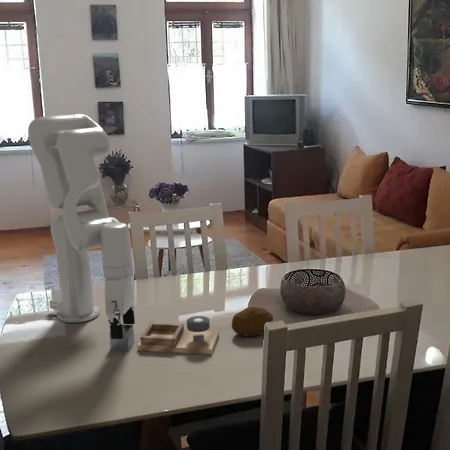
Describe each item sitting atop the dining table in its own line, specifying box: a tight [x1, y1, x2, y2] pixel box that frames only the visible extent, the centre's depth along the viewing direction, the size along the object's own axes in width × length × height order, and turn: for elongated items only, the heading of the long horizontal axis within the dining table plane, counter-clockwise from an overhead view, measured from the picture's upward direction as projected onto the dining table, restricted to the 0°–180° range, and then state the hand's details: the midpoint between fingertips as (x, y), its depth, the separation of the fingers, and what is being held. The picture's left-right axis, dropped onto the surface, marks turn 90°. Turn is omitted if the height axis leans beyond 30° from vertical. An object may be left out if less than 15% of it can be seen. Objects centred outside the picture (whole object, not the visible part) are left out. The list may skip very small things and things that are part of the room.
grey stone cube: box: [108, 324, 135, 351], centre depth 166 cm, size 5×5×5 cm
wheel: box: [186, 315, 211, 332], centre depth 164 cm, size 6×6×2 cm
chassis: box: [136, 322, 220, 355], centre depth 166 cm, size 20×11×4 cm, turn 81°
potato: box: [231, 306, 274, 337], centre depth 171 cm, size 8×12×8 cm, turn 120°
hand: (123, 331), depth 165 cm, fingers open, 9 cm apart
